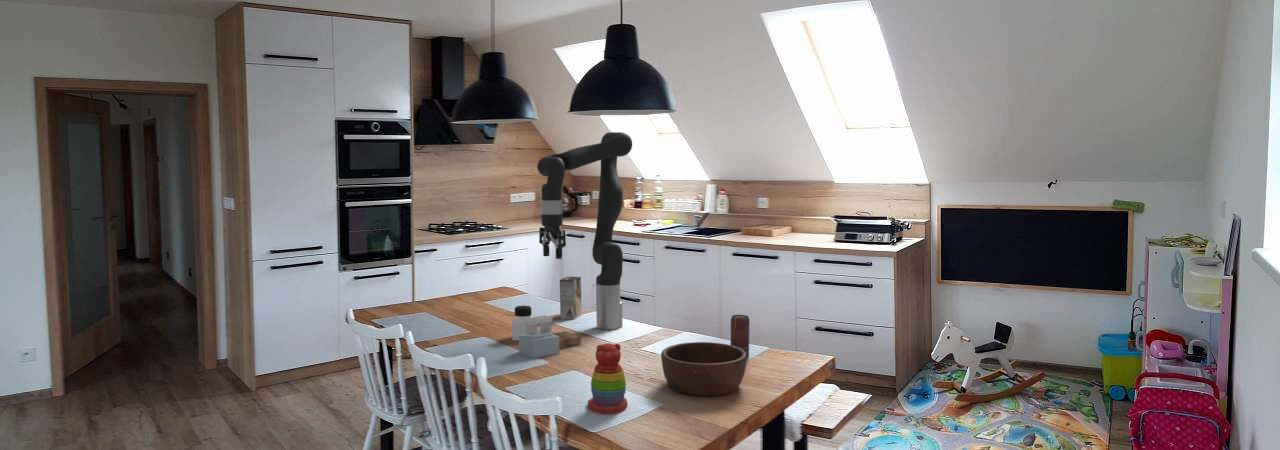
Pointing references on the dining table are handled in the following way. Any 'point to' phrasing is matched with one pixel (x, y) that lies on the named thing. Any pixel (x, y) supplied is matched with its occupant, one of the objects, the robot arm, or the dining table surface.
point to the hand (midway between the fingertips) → (552, 257)
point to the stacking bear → (608, 381)
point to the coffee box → (570, 297)
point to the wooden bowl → (703, 368)
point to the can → (740, 332)
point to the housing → (544, 327)
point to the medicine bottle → (520, 321)
